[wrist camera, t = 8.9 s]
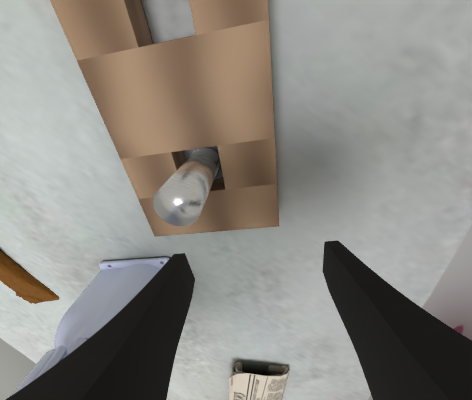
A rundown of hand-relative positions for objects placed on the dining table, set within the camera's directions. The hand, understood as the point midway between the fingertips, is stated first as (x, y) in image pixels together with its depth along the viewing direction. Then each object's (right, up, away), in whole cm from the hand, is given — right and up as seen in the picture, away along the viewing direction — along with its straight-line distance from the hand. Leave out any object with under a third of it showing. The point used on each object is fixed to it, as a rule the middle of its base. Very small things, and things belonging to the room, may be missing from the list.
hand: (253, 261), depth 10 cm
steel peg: (-4, +7, +7) cm, 11 cm away
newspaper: (+3, -41, +34) cm, 53 cm away
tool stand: (-4, +11, +5) cm, 13 cm away
